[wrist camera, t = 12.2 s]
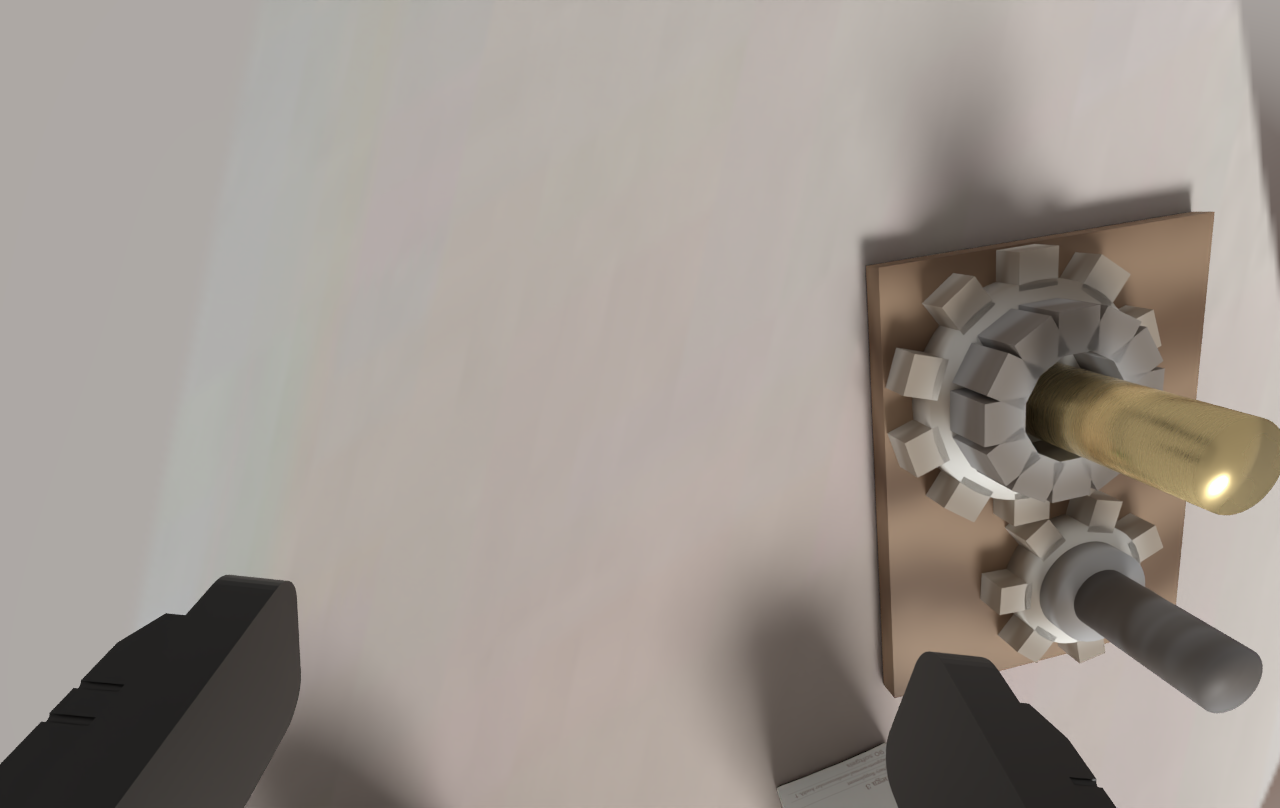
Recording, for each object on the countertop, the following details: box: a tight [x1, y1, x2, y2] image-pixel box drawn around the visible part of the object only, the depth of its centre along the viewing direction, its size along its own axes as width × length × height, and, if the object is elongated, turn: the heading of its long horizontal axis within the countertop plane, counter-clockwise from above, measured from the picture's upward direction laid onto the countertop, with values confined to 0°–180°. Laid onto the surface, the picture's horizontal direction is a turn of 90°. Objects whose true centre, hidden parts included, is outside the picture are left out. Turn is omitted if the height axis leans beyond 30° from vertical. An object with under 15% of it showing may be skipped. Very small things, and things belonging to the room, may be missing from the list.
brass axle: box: [1025, 362, 1280, 515], centre depth 29 cm, size 4×4×10 cm
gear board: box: [866, 212, 1262, 713], centre depth 33 cm, size 24×18×11 cm
